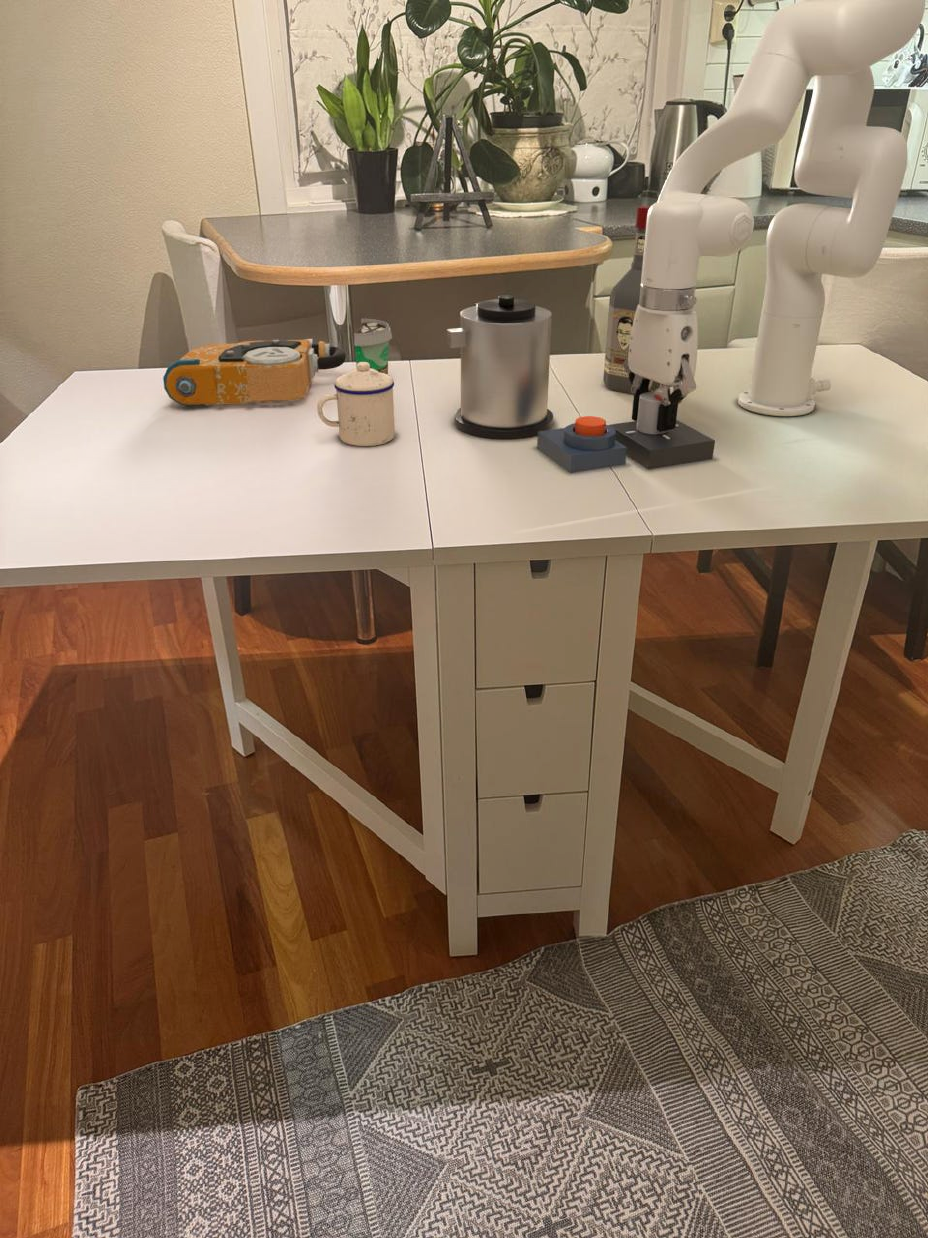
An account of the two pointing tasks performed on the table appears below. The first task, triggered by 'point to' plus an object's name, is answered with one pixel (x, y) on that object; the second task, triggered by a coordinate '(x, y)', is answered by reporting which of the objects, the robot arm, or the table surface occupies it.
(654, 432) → the dial
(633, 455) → the console
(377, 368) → the food container
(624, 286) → the liquor
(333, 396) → the teacup with lid
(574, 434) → the button housing
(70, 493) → the table surface
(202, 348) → the device
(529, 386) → the kettle
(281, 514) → the table surface
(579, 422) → the button
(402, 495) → the table surface
